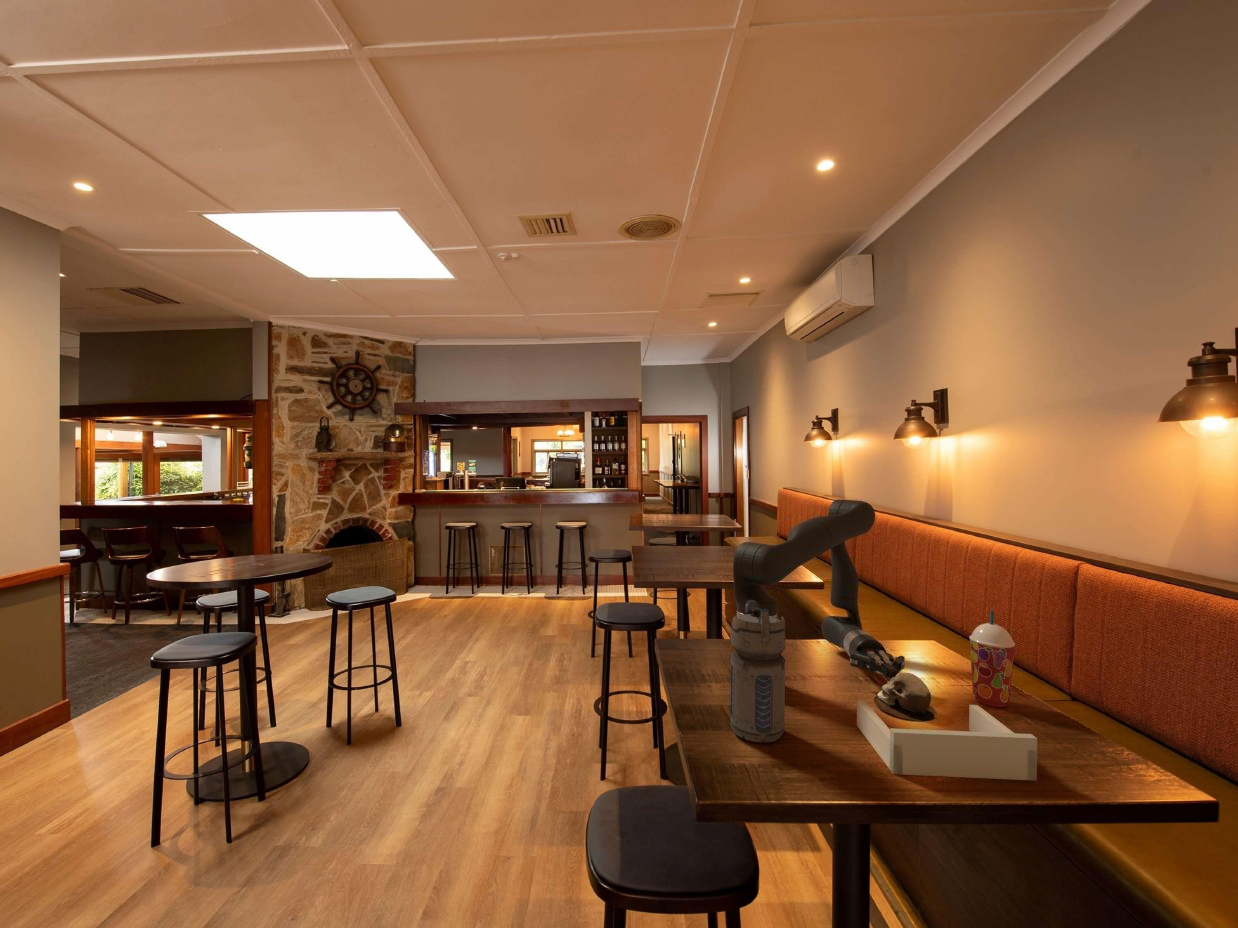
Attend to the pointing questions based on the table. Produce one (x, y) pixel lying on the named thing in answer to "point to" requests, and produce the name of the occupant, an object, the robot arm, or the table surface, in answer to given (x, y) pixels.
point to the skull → (906, 698)
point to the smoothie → (991, 663)
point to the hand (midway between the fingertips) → (893, 674)
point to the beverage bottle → (757, 675)
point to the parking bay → (953, 748)
